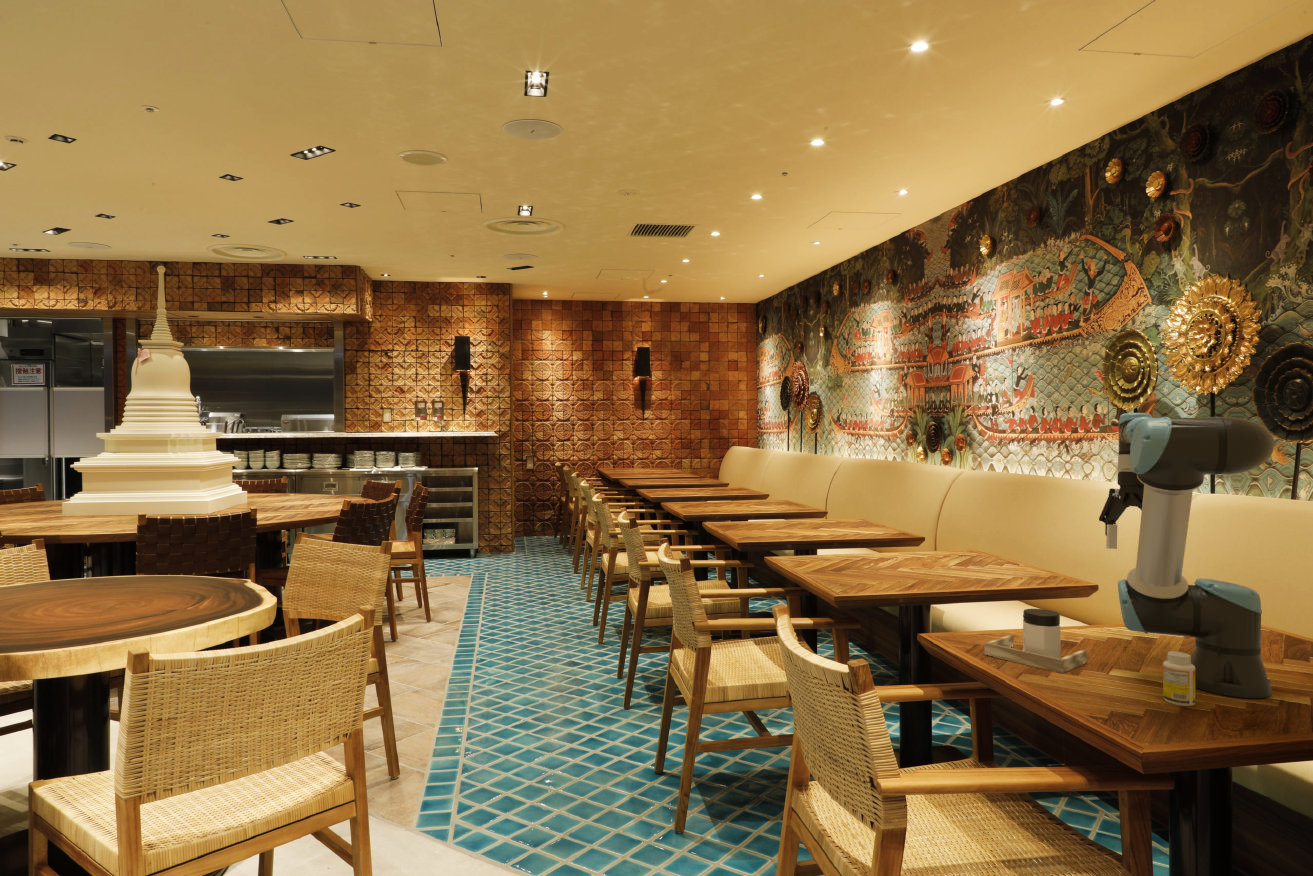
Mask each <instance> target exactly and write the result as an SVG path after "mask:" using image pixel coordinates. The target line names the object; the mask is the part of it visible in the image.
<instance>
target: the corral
mask: <svg viewBox="0 0 1313 876" xmlns="http://www.w3.org/2000/svg"><path fill="white" fill-rule="evenodd" d="M1014 637H1015V636H1014V635H1012V634H1008V635H1005V636H1002V637H999V638H997V639H993V640H989V641H986V642H984V646H983V647H984V651H983V652H984V653H983V654H984V656H987V655H988V657H991V656H993V657H992V658H996V659H1000V660H1005V661H1009V662H1013V663H1017V664H1022V665H1026V666H1030V667H1034V668H1039V669H1043V670H1048V671H1052V672H1056V673H1061V674H1064V673H1067V672H1069V671H1071V670H1073V669H1075V668H1078V667H1080V666H1082V665H1084V664H1086V663H1087V650H1086V649H1081V650H1078V651H1075V652H1073V653H1071V654H1068V655H1066V656H1064V657H1060V659H1059V658H1054V657H1050V656H1045V655H1041V654H1036V653H1032V652H1027V651H1023V649H1022V650H1021V649H1016V648H1014ZM1011 647H1012V648H1011Z"/></svg>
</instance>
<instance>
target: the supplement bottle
mask: <svg viewBox="0 0 1313 876" xmlns="http://www.w3.org/2000/svg"><path fill="white" fill-rule="evenodd" d="M1166 657H1167V659H1166V660H1165V661H1163V664H1162V669H1163V670H1162V676H1163V677H1162V679H1163V680H1162V683H1163V684H1162V686H1163V687H1162V689H1163V692H1162V694H1163V699H1164V701H1165V702H1167V703H1168V704H1172V705H1174V706H1179V707H1180V706H1181V707H1192V706H1194V705H1196V703H1197V702H1196V700H1197V699H1196V687H1195V666H1194V665H1193V664H1191V658H1192V655H1191V654H1188V653H1186V652H1182V651H1175V650H1174V651H1168V652H1167V656H1166Z"/></svg>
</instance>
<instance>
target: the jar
mask: <svg viewBox="0 0 1313 876" xmlns="http://www.w3.org/2000/svg"><path fill="white" fill-rule="evenodd" d="M1022 617H1023V619H1022V651H1027V652H1032V653H1036V654H1041V655H1045V656H1050V657H1054V658H1059V659H1061V625H1060V624H1061V619H1060V618H1061V613H1060V612H1058V611H1055V610H1050V609H1044V608H1026V609H1024V610H1023V612H1022Z"/></svg>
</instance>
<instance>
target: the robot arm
mask: <svg viewBox="0 0 1313 876" xmlns="http://www.w3.org/2000/svg"><path fill="white" fill-rule="evenodd" d="M1118 421H1119V422H1118V425H1117V427H1118V457H1117V469H1118V470H1120V471H1118V472H1117V481H1116V482H1117V485H1118V486H1119V488H1109V491H1108V497H1107V498H1106V501H1105V503H1104V506H1103V508H1102V511H1101V513H1100V515H1099V518H1098V520H1099V522H1103V523H1104V524H1105V527H1104V528H1105V529H1104V530H1105V536H1106V542H1105V543H1106V545H1105V548H1106V549H1108V550H1109V549H1112V550H1116V549H1118V524H1117V521H1118V520H1119V519H1120V517H1121V516H1122V515H1123V513H1124V512H1125V510H1127V508H1129V507H1134V508H1135V507H1137V509H1140V511H1141V515H1140V525H1139V535H1138V542H1137V544H1138V545H1137V552H1136V553H1137V554H1136V563H1135V568H1133V569H1131V570H1129V572H1128V573H1127V576H1126V579H1121V580H1118V582H1117V591H1118V599H1119V604H1120V605H1119V607H1120V612H1121V619H1122V622H1123V625H1124V627H1125V628H1126V629H1127V630H1129V631H1131V632H1138V633H1144V634H1157V635H1165V636H1166V635H1168V636H1169V635H1170V636H1175V637H1177V636H1178V637H1188V638H1189V637H1190V638H1195V639H1194V640H1195V642H1194V643H1195V644H1194V646H1195V648H1194V650H1193V653H1192V655H1191V664H1193V665H1194V666H1195V689H1200V690H1202V691H1205V692H1210V693H1214V694H1217V695H1223V696H1228V697H1233V698H1241V699H1242V698H1245V699H1263V698H1268V697H1269V698H1270V697H1271V695H1272V683H1271V680H1270V679H1268V675H1267V672H1266V668H1265V665H1264V663H1263V660H1262V649H1261V648H1262V614H1263V610H1262V604H1261V596H1260V594H1259V593H1258V592H1257V591H1256V590H1254V589H1252V588H1251V587H1247V586H1245V585H1240V584H1237V583H1233V582H1229V581H1223V580H1217V579H1211V578H1210V579H1209V578H1196V579H1195V581H1194V583H1193V584H1189V583H1188V580H1187V579H1186V578H1185V577H1184V576H1183V575H1182V574H1183V567H1184V560H1185V552H1186V544H1187V538H1188V537H1187V536H1188V530H1189V521H1190V516H1191V515H1190V514H1191V507H1192V499H1193V493H1194V490H1196V489H1198V488H1200V487H1202V485H1203V484H1204V478H1205V475H1209V476H1210V475H1218V476H1219V475H1234V474H1237V475H1238V474H1241V473H1246V472H1249V471H1251V470H1253V469H1256V468H1258V467H1260V466H1261V465H1263V464H1264V463H1266V462H1267V461H1268V460H1269V459H1270V458H1271V456H1272V454H1273V452H1274V451H1275V450H1274V448H1275V439H1274V437H1273V434H1272V433H1271V431H1270V430H1269V429H1268V428H1267V427H1266V426H1265V425H1263V424H1261V423H1259V422H1257V421H1253V420H1249V419H1245V418H1239V417H1232V416H1231V417H1230V416H1228V417H1227V416H1220V417H1219V416H1209V417H1207V416H1206V417H1204V416H1203V417H1202V416H1201V417H1169V416H1161V417H1153V416H1152V415H1151V414H1150V413H1147V412H1146V413H1145V412H1128V413H1122V414H1120V415H1119V420H1118Z"/></svg>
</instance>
